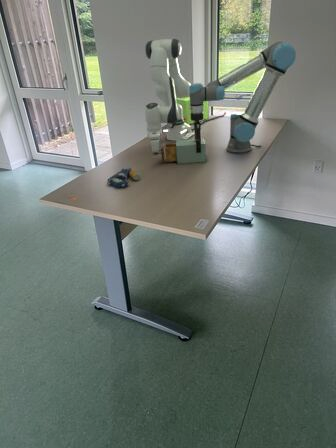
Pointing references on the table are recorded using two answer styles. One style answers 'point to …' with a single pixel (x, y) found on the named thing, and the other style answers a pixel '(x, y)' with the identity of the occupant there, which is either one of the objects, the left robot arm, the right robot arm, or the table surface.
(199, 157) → the green drawer cabinet
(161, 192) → the table surface
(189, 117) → the lime green box
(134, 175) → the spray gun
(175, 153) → the drawer
